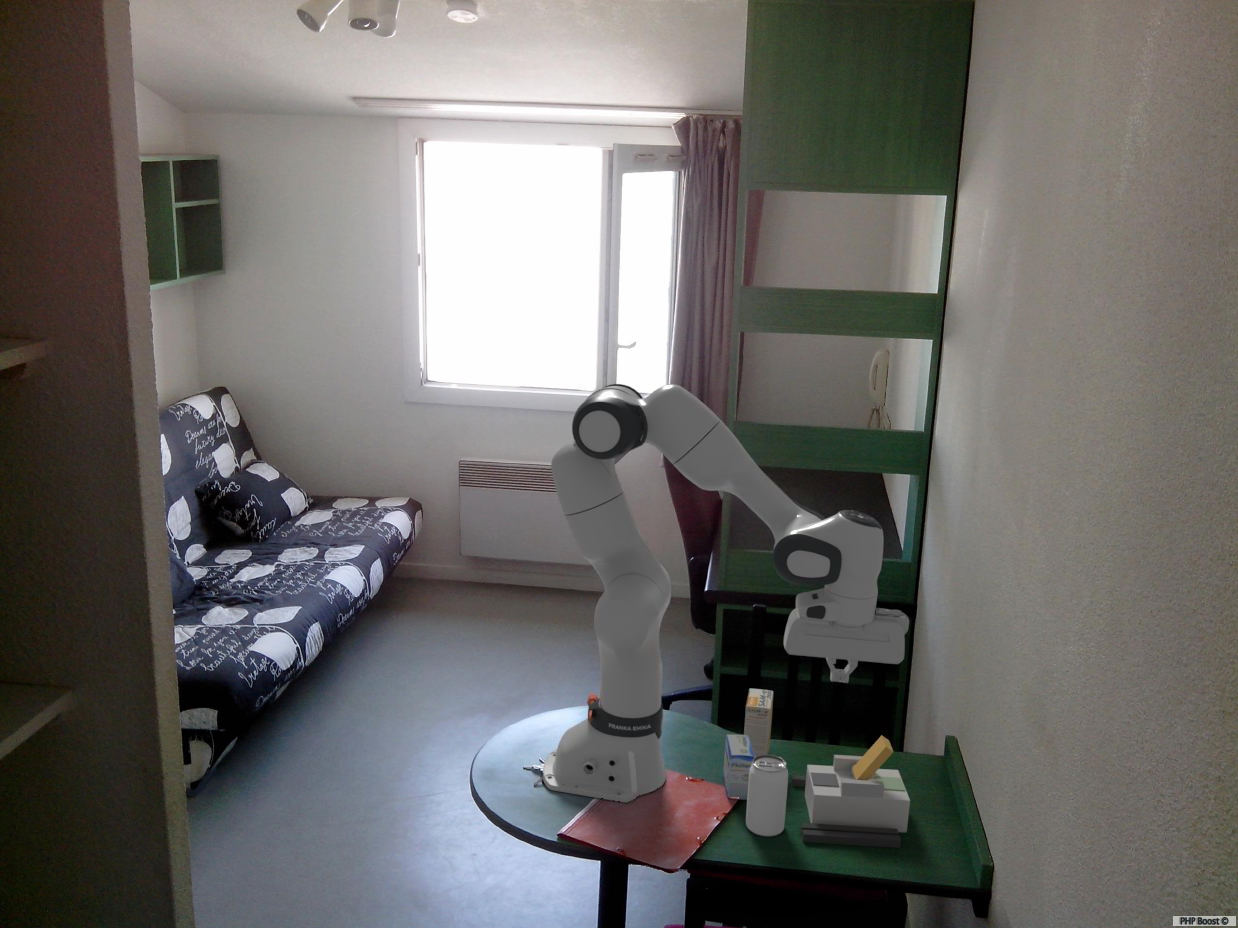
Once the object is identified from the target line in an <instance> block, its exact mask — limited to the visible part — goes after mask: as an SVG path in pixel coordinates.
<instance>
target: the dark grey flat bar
mask: <svg viewBox="0 0 1238 928" xmlns="http://www.w3.org/2000/svg"><path fill="white" fill-rule="evenodd" d="M899 833H900V832H898V830H897V829H893V828H877V827H861V826H845V825H829V824H813V823H811V822H801V823H800V835H801V839H802V843H813V844H814V843H815V844H833V845H846V846H847V845H848V846H863V847H876V848H877V847H879V848H896V849H897V848H898V849H900V848H901V845H902V839H901V836H900V835H899Z"/></svg>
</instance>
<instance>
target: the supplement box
mask: <svg viewBox="0 0 1238 928" xmlns="http://www.w3.org/2000/svg"><path fill="white" fill-rule="evenodd" d="M773 702H774V691H773V690H770V689H769V690H768V689H761V688H749V689H748V694H747V700H746V705H745V716H744V729H743V735H748V736H750V741H751V745H752V749H753V753H754V757H757V756H759V755H769V750H770V742H771V733H772V732H771V731H772V720H773V709H774V707H773V704H774V703H773Z"/></svg>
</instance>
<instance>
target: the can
mask: <svg viewBox="0 0 1238 928" xmlns="http://www.w3.org/2000/svg"><path fill="white" fill-rule="evenodd" d="M787 765H788V764H787V762H786V761H785V759H783V758H782V757H780V756H777V755H774V754H768V755H759V756H757V757H755V758H754V759H753V764H752V765H751V767H750V772H749V784H748V798H747V800H746V814H745V826H746V827H747V829H748V830H749V831H750V832H752V833H753V834H755V835H756V836H759V837H764V838H767V837H769V838H771V837H776V836H778V835H780V834H781V833H783V831H784V829H785V821H786V820H785V819H786V811H787V810H786V807H787V798H788V784H789V772H788V769H787Z"/></svg>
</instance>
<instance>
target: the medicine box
mask: <svg viewBox="0 0 1238 928" xmlns="http://www.w3.org/2000/svg"><path fill="white" fill-rule="evenodd" d="M724 745H725V746H724V756H723V757H724V759H723V769H722V778H723V782H724V788H725V791H726V792H725V793H726V797H739V798H740V799H739V800H744V801H745V800H746V801H747V798H748V784H749V772H750V767H751V765H752V764H753V759H754V758H755V757H754V753H753V749H752V745H751V741H750V736H748V735H744V734H726V736H725V744H724Z"/></svg>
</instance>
